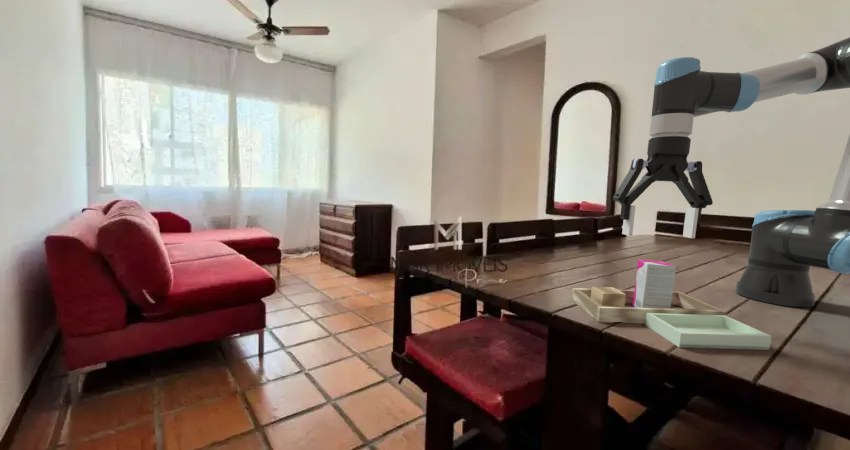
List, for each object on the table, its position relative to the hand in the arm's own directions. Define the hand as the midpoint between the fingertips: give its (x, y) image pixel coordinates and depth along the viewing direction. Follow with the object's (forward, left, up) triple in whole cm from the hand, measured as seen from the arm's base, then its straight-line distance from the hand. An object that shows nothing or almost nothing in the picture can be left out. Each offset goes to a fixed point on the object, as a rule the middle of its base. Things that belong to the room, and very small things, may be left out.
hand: (657, 236), depth 81 cm
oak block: (+10, 0, -17) cm, 20 cm away
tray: (-2, +13, -17) cm, 22 cm away
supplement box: (0, 0, -17) cm, 17 cm away
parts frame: (+2, 0, -17) cm, 17 cm away
